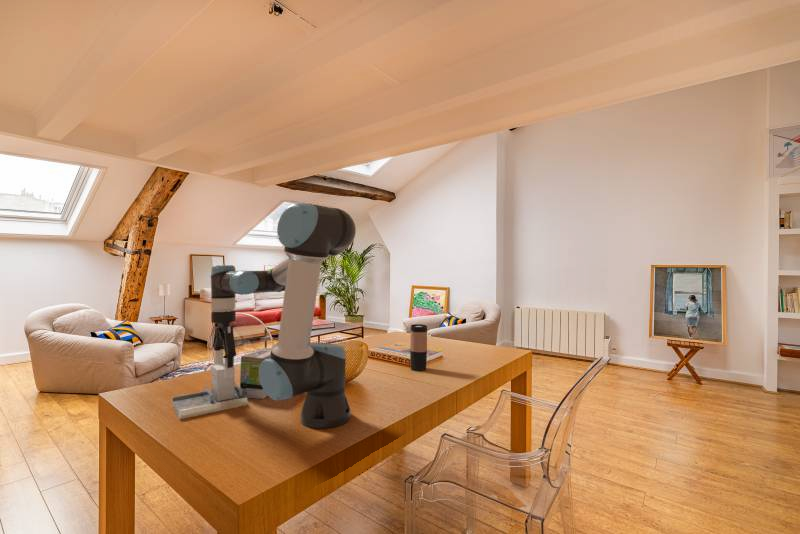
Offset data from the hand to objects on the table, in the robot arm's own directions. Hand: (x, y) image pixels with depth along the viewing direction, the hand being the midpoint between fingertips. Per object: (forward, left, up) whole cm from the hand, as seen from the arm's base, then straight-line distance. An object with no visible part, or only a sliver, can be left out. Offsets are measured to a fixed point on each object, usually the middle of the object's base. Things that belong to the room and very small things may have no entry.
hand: (223, 372), depth 131 cm
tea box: (+4, -15, -11) cm, 19 cm away
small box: (+1, 0, -9) cm, 9 cm away
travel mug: (-7, -82, -11) cm, 83 cm away
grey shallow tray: (+1, +4, -10) cm, 11 cm away
